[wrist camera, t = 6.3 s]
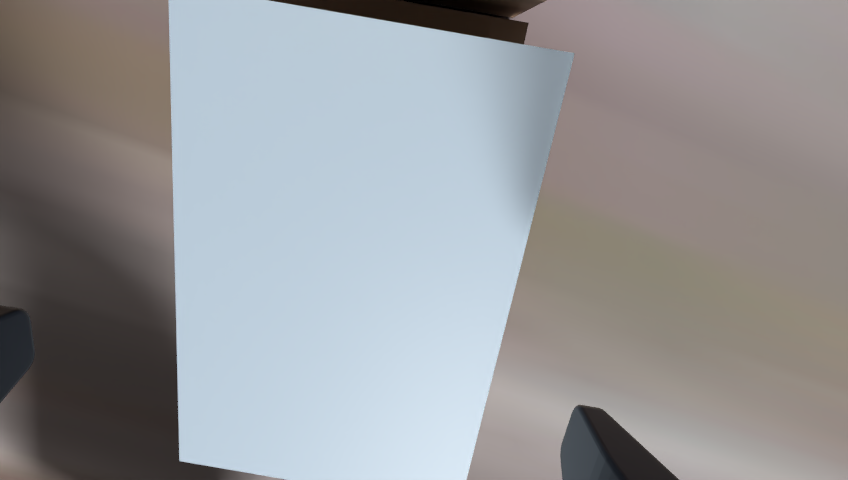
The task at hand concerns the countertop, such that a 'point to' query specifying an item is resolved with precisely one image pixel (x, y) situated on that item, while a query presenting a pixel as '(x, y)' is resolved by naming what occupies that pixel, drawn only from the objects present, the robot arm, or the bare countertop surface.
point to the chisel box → (439, 14)
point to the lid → (346, 234)
